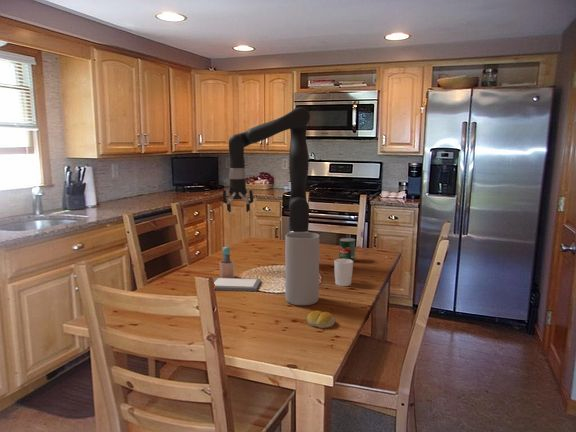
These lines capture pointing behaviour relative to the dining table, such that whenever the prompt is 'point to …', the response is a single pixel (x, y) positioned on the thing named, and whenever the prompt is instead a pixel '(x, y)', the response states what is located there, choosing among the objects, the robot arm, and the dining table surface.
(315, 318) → the bread roll
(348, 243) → the canned tomato
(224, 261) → the marker
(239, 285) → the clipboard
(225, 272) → the pen cup
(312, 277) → the cylinder vase
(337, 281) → the white cup
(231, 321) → the dining table surface
